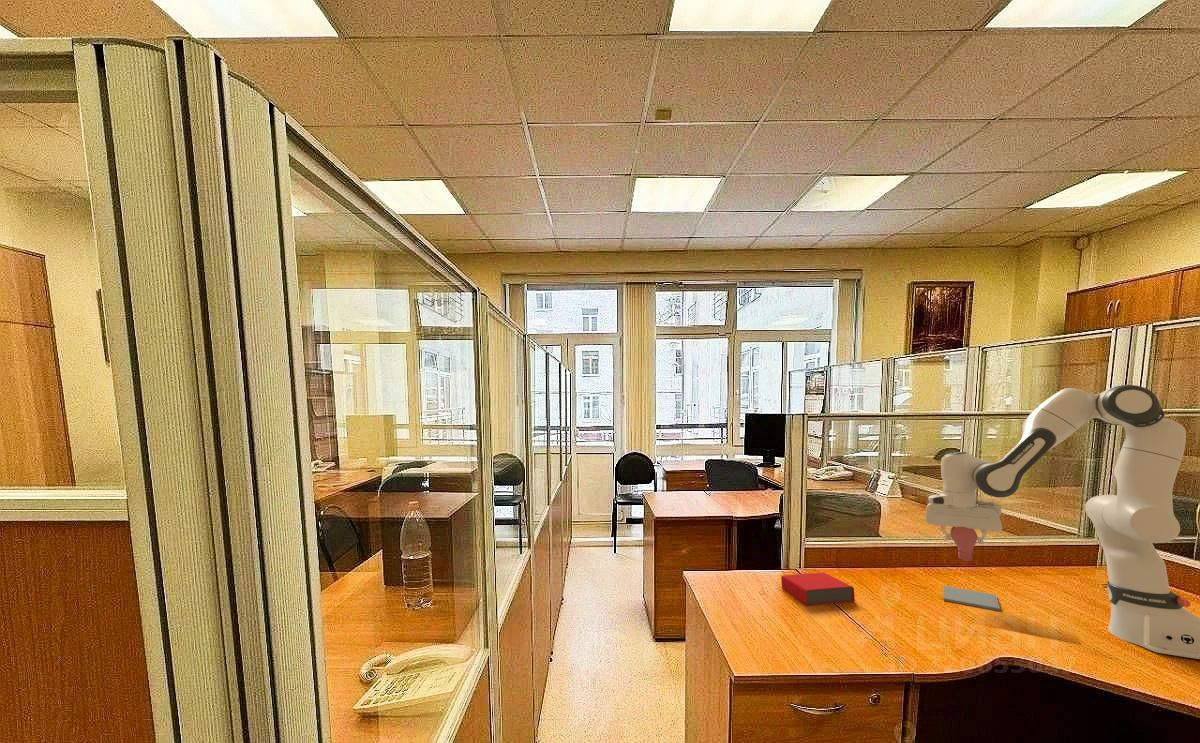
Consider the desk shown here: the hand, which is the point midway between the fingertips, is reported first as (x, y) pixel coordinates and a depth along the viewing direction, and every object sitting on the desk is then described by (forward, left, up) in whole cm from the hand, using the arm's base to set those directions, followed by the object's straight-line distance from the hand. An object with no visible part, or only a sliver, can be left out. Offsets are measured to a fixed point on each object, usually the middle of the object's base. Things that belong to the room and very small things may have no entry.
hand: (964, 541), depth 149 cm
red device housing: (+42, +26, -19) cm, 53 cm away
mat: (0, 0, -19) cm, 19 cm away
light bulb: (0, 0, -7) cm, 7 cm away
